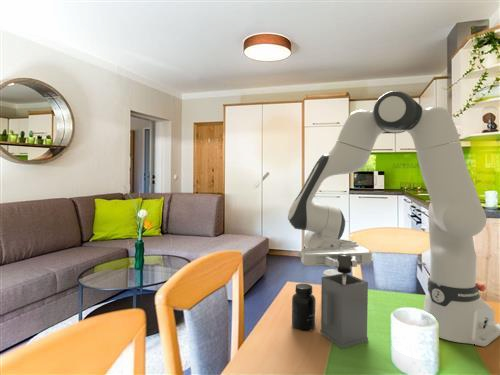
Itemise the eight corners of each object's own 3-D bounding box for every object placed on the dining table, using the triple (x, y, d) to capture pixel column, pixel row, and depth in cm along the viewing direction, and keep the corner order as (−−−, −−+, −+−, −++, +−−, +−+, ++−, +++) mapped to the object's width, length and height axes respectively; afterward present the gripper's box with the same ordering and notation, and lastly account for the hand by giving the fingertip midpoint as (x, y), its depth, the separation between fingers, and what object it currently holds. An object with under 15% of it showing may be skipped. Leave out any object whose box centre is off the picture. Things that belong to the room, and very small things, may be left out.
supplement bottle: (315, 332, 92) (315, 291, 92) (290, 330, 94) (291, 289, 93) (315, 321, 99) (315, 282, 99) (292, 319, 101) (292, 281, 100)
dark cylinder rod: (344, 310, 94) (345, 251, 93) (360, 318, 88) (361, 256, 87) (327, 314, 91) (328, 253, 90) (342, 323, 86) (343, 259, 85)
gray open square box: (345, 326, 96) (346, 272, 95) (368, 341, 88) (369, 282, 87) (314, 334, 92) (315, 277, 91) (335, 350, 83) (336, 288, 83)
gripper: (295, 242, 101) (308, 253, 87) (359, 240, 103) (381, 251, 89) (295, 262, 101) (307, 277, 87) (358, 260, 103) (381, 274, 89)
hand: (345, 264), depth 88 cm, fingers closed on dark cylinder rod, 4 cm apart
